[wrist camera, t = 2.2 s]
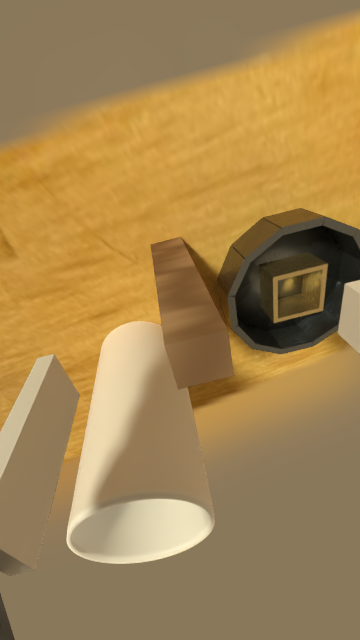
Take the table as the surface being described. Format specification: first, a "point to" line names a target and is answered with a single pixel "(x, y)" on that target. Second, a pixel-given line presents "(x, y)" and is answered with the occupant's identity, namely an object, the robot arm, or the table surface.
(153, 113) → the table surface
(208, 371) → the square wooden stick
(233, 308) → the bowl
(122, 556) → the cup
